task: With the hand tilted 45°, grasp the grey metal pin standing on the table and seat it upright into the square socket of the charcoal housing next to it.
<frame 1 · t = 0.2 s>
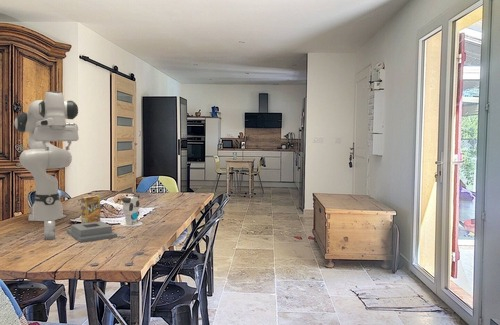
hand: (57, 150, 197), 39 cm above the table, tool pointing down, fingers open, 8 cm apart
metal pin: (49, 238, 176), on the table
candy box: (90, 226, 203), on the table
socket housing: (91, 234, 184), on the table
panda figurine: (131, 224, 208), on the table
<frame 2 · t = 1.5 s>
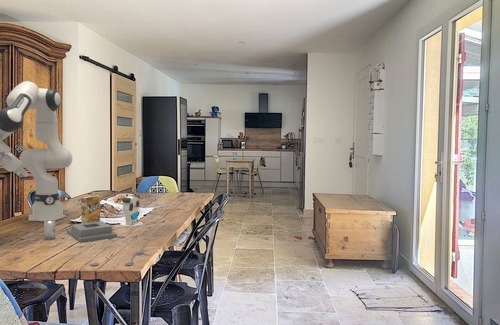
hand: (25, 176, 173), 28 cm above the table, tool tilted 40°, fingers open, 8 cm apart
nothing on the table moved.
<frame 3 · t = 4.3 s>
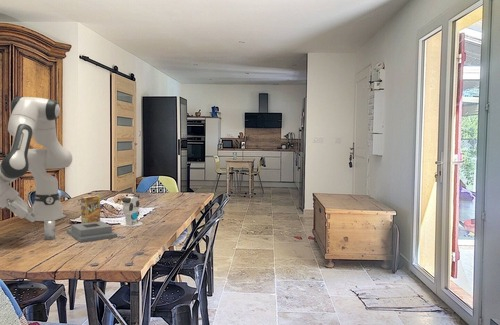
hand: (34, 219, 173), 9 cm above the table, tool tilted 45°, fingers open, 8 cm apart
nothing on the table moved.
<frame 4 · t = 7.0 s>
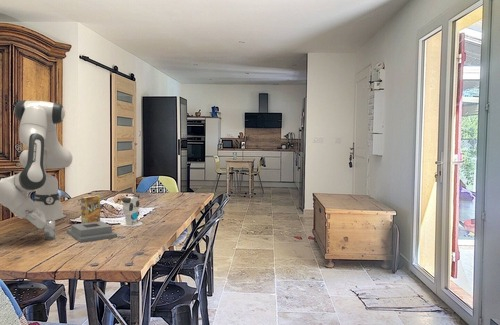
hand: (51, 228, 176), 4 cm above the table, tool tilted 45°, fingers closed on metal pin, 4 cm apart
metal pin: (49, 238, 176), on the table, touching gripper
everything else where it was.
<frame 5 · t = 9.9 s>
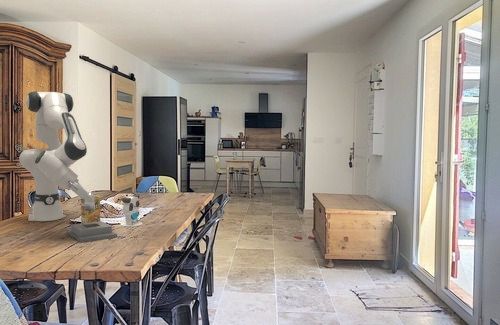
hand: (91, 200, 183), 16 cm above the table, tool tilted 45°, fingers closed on metal pin, 4 cm apart
metal pin: (89, 209, 183), point 12 cm above the table, touching gripper
everything else where it was.
when the fingers open (7 cm above the table, at t = 12.9 s): metal pin drops 1 cm, resting on socket housing.
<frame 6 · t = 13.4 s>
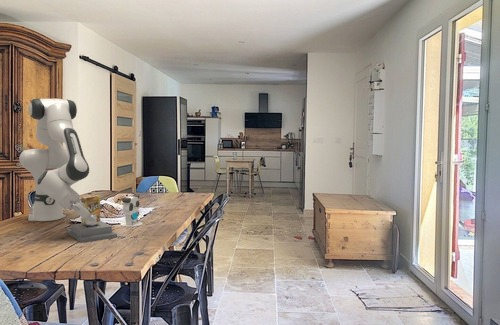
hand: (92, 219, 184), 7 cm above the table, tool tilted 45°, fingers open, 8 cm apart
metal pin: (91, 231, 184), point 1 cm above the table, touching socket housing
everything else where it was.
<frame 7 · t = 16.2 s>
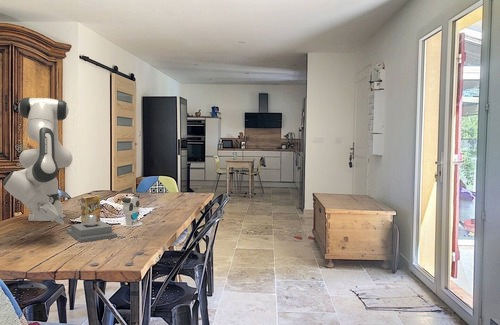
hand: (62, 221, 177), 7 cm above the table, tool tilted 45°, fingers open, 8 cm apart
nothing on the table moved.
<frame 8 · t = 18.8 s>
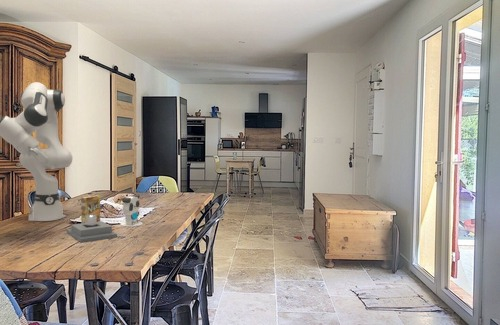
hand: (53, 167, 182), 31 cm above the table, tool tilted 45°, fingers open, 8 cm apart
nothing on the table moved.
at the end: metal pin 0.1 cm off-centre on the socket housing, point 1.5 cm above the socket housing's base; metal pin tilted 0°; the gripper is holding nothing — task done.
